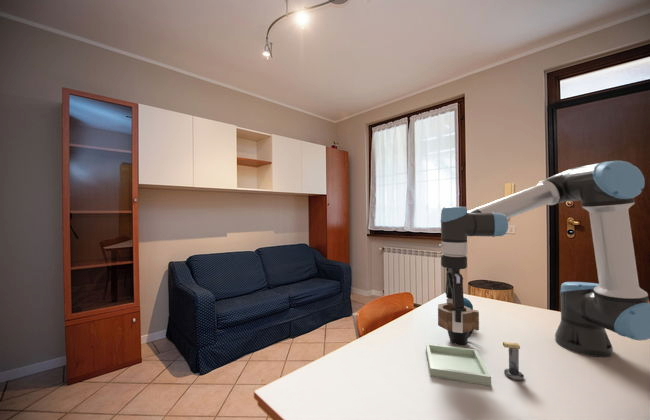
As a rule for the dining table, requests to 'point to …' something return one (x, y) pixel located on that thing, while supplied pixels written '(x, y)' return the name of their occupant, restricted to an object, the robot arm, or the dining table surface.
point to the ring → (468, 317)
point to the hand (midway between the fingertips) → (454, 324)
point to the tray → (457, 364)
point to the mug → (459, 337)
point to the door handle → (513, 362)
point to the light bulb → (468, 303)
